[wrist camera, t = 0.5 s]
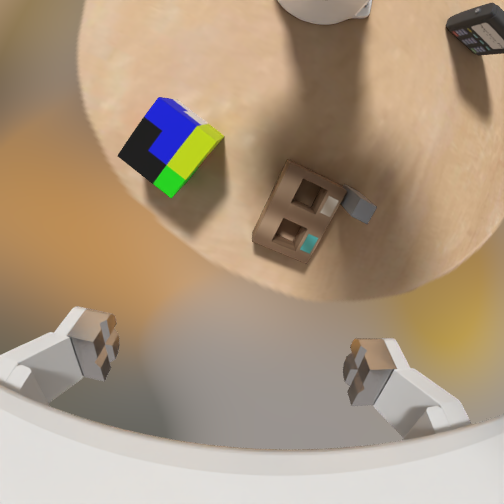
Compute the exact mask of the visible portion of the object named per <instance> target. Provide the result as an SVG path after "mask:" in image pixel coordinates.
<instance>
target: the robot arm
mask: <svg viewBox="0 0 504 504" xmlns="http://www.w3.org/2000/svg"><path fill="white" fill-rule="evenodd" d="M278 2H279V3H280V5H281V6H282V7H283V8H284V9H285V10H286V11H287V12H289V13H290V14H292V15H293V16H295V17H297V18H299V19H301V20H303V21H306V22H309V23H314V24H322V25H327V24H335V23H339V22H342V21H344V20H347V19H350V18H366V17H367V16H368V15H369V13H370V9H371V4H372V0H278ZM364 6H365V8H364ZM115 326H116V319H115V316H114V315H113V314H110V313H106V312H101V311H96V310H92V309H87V308H82V307H78V306H76V307H74V308H73V309H72V310H71V311H70V313H69V314H68V315H67V316H66V318H65V319H64V320H63V322H62V323H61V324H60V326H59V327H58V328H57V329H56V331H55V332H54V333H52V332H50V333H47V334H45V335H43V336H41V337H39V338H37V339H35V340H32V341H30V342H28V343H26V344H23V345H21V346H19V347H17V348H15V349H13V350H10V351H8V352H6V353H4V354H2V355H0V504H504V414H503V415H500V416H497V417H494V418H491V419H488V420H485V421H482V422H479V423H475V424H471V422H470V420H469V418H468V416H467V414H466V412H465V410H464V408H463V406H462V404H461V402H460V401H459V400H458V399H457V398H455V397H454V396H452V395H451V394H449V393H448V392H447V391H445V390H444V389H442V388H441V387H439V386H438V385H437V384H435V383H434V382H432V381H431V380H430V379H428V378H427V377H425V376H424V375H423V374H421V373H420V372H418V371H417V370H415V369H414V368H412V369H410V367H409V365H408V363H407V361H406V359H405V357H404V355H403V353H402V351H401V349H400V347H399V345H398V343H397V341H396V340H395V339H393V338H381V339H354V340H353V342H352V344H351V347H350V348H351V351H352V353H351V354H349V355H348V356H347V357H346V360H345V362H344V367H343V376H344V380H345V382H346V383H347V384H348V385H349V386H350V387H349V389H348V395H349V398H350V402H351V405H352V406H362V405H374V408H376V410H378V412H379V413H380V414H381V415H382V416H383V417H384V418H385V419H386V420H387V421H388V422H389V423H390V424H391V425H392V426H393V427H394V429H396V431H397V432H398V433H399V434H400V435H401V436H402V437H403V440H402V441H395V442H389V443H382V444H374V445H366V446H356V447H344V448H330V449H303V450H277V449H250V448H236V447H225V446H215V445H206V444H198V443H191V442H185V441H178V440H171V439H167V438H161V437H156V436H151V435H146V434H141V433H137V432H132V431H128V430H124V429H120V428H117V427H113V426H109V425H105V424H102V423H98V422H95V421H92V420H88V419H85V418H82V417H79V416H76V415H72V414H70V413H67V412H64V411H61V410H58V409H56V408H53V407H50V406H49V404H48V403H49V402H51V401H52V400H53V399H55V398H56V397H58V396H59V395H60V394H62V393H63V392H64V391H66V390H67V389H68V388H70V387H71V386H73V385H74V384H75V383H77V382H78V381H79V380H81V379H82V378H83V377H87V378H92V379H96V380H100V381H105V380H106V377H107V375H108V373H109V371H110V369H111V366H110V362H111V361H113V360H115V359H116V356H117V354H118V350H119V335H118V333H117V331H116V330H115V329H114V327H115Z"/></svg>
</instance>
